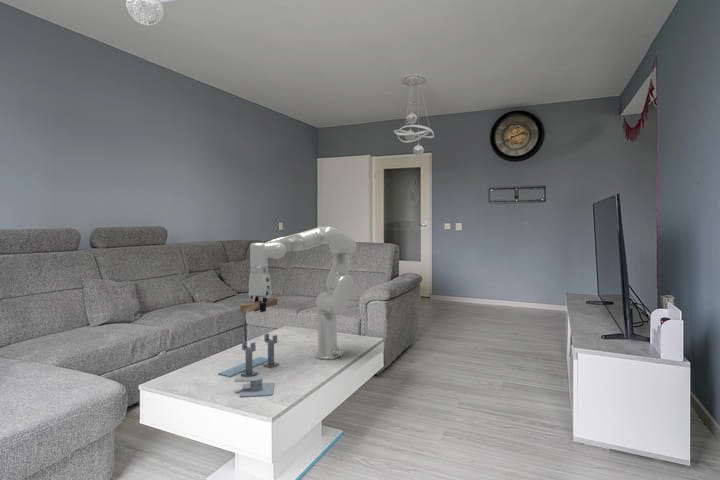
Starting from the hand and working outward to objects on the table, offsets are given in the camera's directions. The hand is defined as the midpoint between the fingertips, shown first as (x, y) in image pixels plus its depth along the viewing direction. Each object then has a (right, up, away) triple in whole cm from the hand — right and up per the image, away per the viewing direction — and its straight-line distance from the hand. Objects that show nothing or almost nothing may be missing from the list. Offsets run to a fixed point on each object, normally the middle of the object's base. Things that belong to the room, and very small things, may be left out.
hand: (259, 310), depth 187 cm
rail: (0, +1, 0) cm, 1 cm away
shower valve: (+3, -28, -22) cm, 36 cm away
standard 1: (-3, -27, -5) cm, 28 cm away
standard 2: (+4, -27, +7) cm, 28 cm away
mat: (-8, -27, +5) cm, 28 cm away
